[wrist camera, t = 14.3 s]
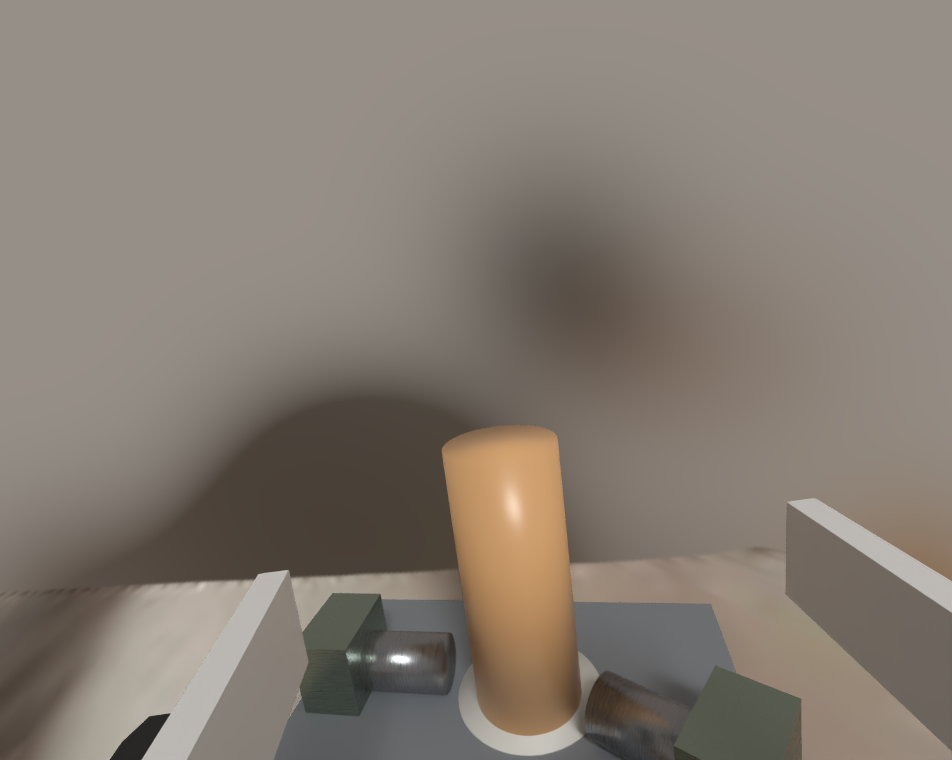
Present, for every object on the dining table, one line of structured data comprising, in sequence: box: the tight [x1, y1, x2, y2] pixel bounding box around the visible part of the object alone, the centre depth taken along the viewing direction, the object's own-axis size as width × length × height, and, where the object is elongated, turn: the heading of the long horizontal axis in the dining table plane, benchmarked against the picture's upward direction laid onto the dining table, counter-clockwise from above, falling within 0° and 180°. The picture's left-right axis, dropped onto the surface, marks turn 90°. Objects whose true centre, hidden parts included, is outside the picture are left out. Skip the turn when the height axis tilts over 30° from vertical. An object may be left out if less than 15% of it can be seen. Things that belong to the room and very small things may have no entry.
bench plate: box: [274, 600, 736, 760], centre depth 26 cm, size 22×14×1 cm, turn 78°
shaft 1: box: [300, 593, 456, 716], centre depth 27 cm, size 7×4×4 cm, turn 78°
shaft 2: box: [585, 665, 802, 760], centre depth 20 cm, size 7×4×4 cm, turn 48°
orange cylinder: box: [442, 425, 582, 736], centre depth 24 cm, size 5×5×13 cm
